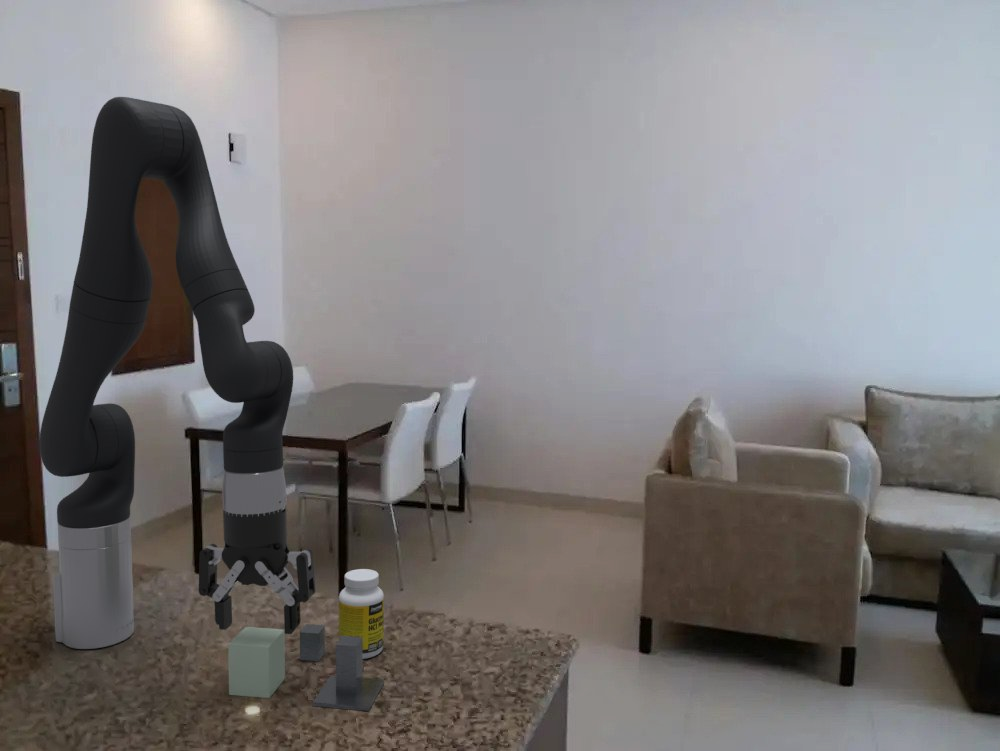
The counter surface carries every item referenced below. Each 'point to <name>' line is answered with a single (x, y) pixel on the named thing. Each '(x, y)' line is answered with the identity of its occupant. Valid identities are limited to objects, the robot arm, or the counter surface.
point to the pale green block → (256, 662)
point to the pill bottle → (362, 610)
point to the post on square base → (349, 680)
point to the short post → (312, 642)
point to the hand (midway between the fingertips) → (258, 629)
